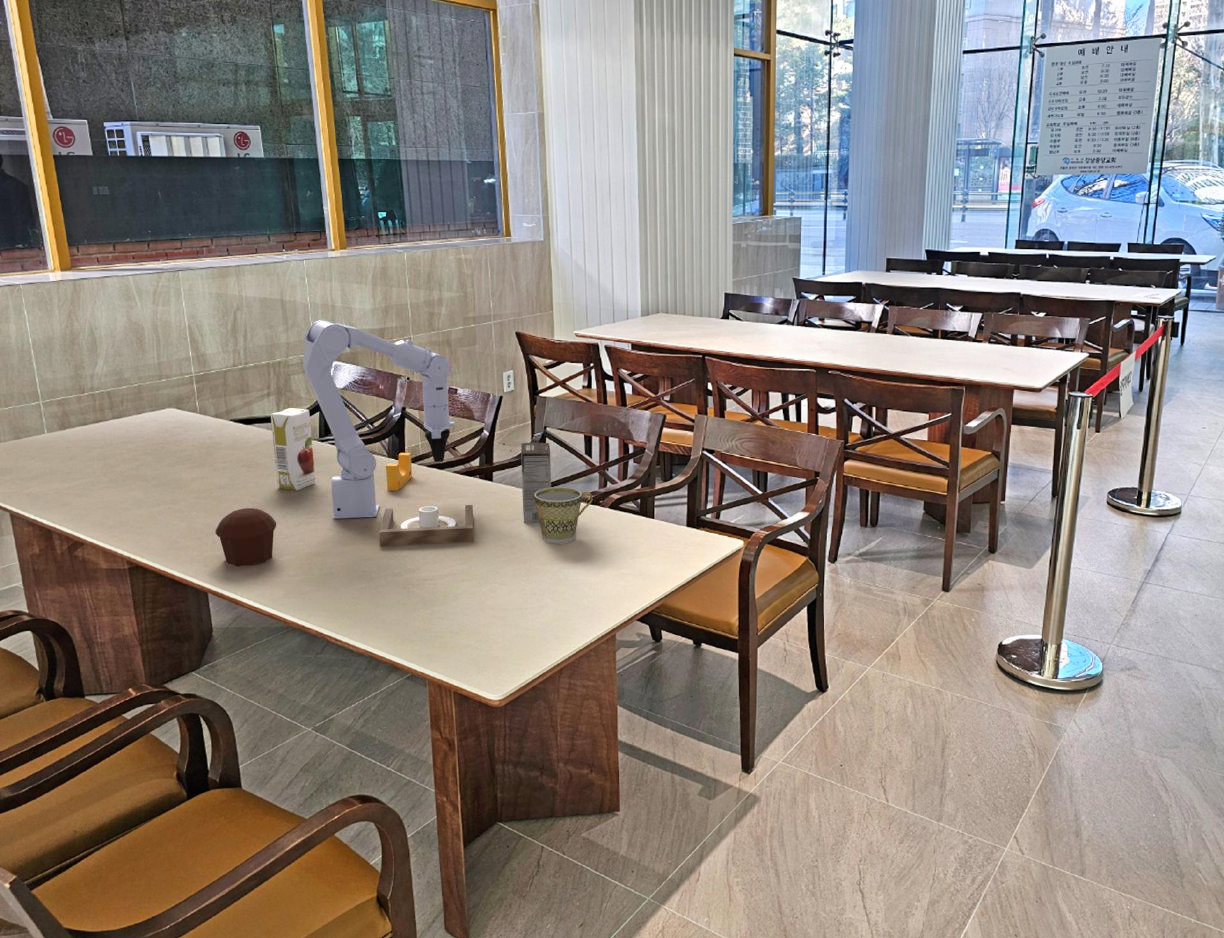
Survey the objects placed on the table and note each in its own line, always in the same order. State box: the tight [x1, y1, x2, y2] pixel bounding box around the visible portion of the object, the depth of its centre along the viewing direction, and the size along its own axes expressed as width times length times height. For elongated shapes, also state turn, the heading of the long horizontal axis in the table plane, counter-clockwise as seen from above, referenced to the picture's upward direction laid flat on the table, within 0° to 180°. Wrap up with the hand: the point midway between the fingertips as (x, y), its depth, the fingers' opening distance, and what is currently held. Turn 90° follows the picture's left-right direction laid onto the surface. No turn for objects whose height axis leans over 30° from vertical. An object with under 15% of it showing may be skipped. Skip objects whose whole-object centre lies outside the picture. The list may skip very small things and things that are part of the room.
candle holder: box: [400, 505, 457, 529], centre depth 216 cm, size 12×12×4 cm
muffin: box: [215, 507, 277, 567], centre depth 196 cm, size 12×11×10 cm
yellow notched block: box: [385, 452, 413, 492], centre depth 246 cm, size 12×4×6 cm, turn 174°
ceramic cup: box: [534, 486, 594, 545], centre depth 207 cm, size 13×10×10 cm
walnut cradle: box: [378, 504, 474, 547], centre depth 212 cm, size 19×16×3 cm
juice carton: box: [270, 407, 316, 491], centre depth 243 cm, size 8×9×19 cm
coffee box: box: [520, 442, 552, 523], centre depth 220 cm, size 9×6×16 cm
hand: (439, 460), depth 232 cm, fingers closed
